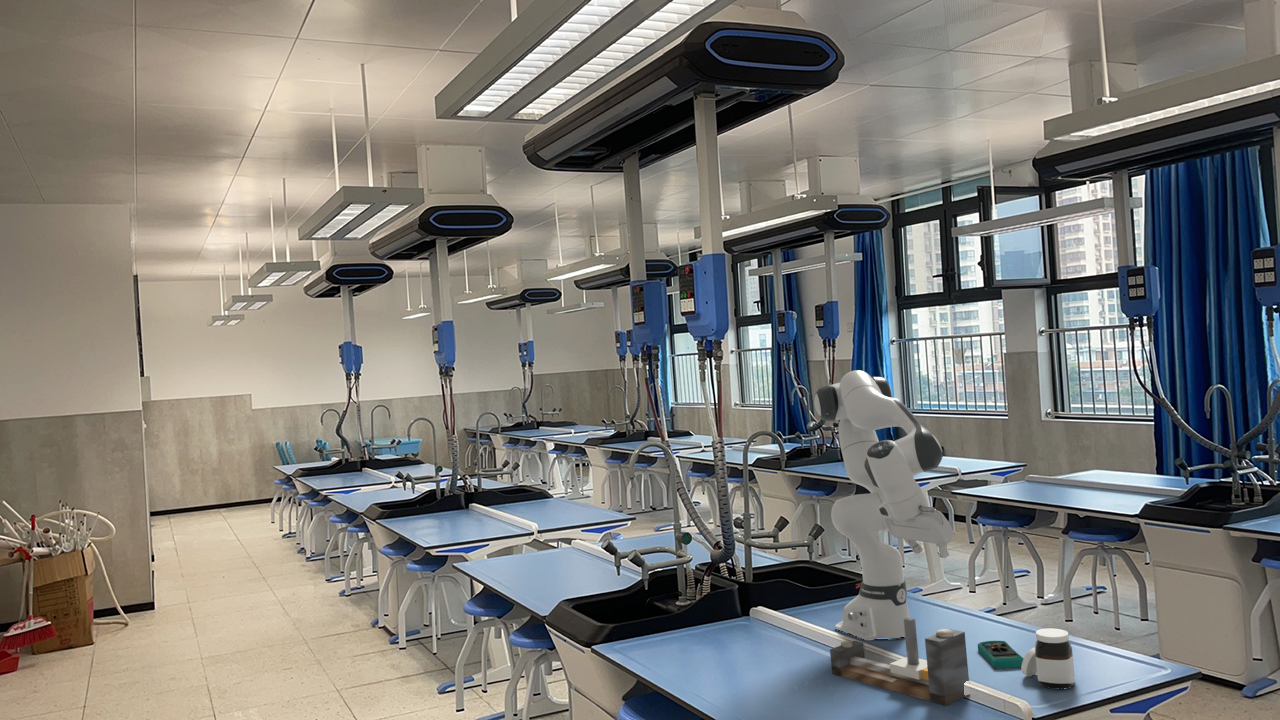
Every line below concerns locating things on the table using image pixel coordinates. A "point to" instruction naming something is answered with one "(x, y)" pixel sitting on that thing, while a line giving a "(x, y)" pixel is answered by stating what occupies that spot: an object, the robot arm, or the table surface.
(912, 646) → the carriage
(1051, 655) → the spread jar
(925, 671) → the orange end stop block
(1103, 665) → the table surface
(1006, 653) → the digital multimeter
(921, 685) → the slider track rig
